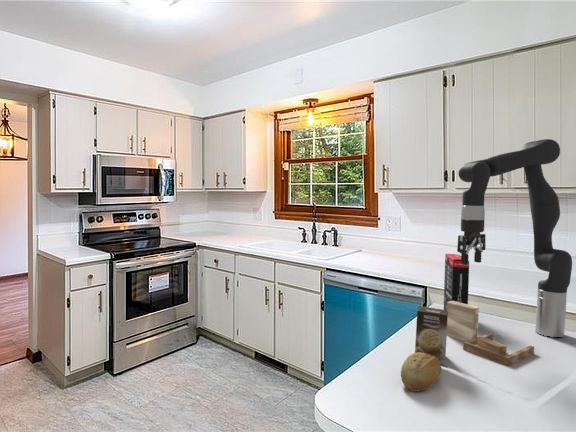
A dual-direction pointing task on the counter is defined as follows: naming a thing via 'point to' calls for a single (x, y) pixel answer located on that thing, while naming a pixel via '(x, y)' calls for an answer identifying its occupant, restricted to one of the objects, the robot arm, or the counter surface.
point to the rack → (495, 356)
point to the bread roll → (420, 371)
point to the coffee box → (431, 332)
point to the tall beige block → (462, 321)
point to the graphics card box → (455, 280)
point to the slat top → (492, 345)
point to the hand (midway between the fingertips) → (471, 263)
